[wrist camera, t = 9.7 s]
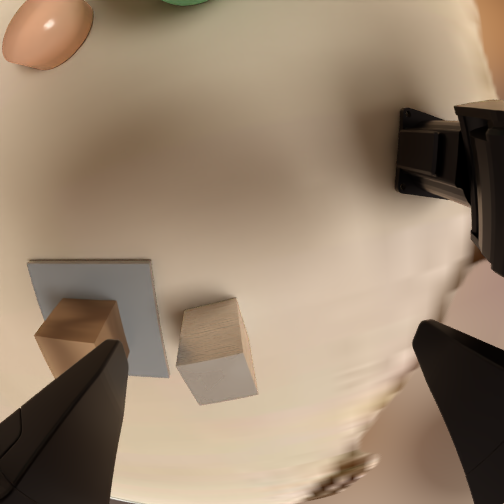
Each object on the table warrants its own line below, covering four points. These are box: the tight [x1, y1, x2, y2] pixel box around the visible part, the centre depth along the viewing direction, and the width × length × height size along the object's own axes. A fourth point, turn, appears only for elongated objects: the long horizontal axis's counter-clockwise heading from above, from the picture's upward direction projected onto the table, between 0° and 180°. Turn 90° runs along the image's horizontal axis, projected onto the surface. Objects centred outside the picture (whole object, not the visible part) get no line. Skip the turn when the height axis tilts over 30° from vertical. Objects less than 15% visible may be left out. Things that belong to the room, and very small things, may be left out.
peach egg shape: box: [2, 0, 93, 70], centre depth 9 cm, size 6×6×4 cm
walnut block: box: [34, 298, 130, 379], centre depth 17 cm, size 5×5×5 cm
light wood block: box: [176, 298, 258, 405], centre depth 18 cm, size 4×4×6 cm
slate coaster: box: [27, 260, 170, 378], centre depth 20 cm, size 11×11×1 cm
